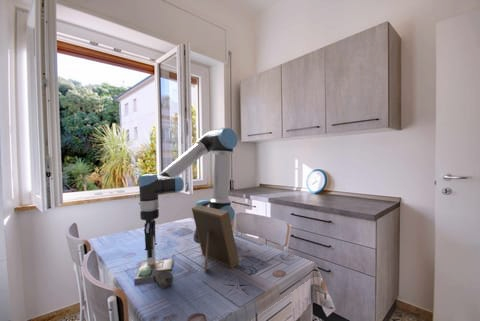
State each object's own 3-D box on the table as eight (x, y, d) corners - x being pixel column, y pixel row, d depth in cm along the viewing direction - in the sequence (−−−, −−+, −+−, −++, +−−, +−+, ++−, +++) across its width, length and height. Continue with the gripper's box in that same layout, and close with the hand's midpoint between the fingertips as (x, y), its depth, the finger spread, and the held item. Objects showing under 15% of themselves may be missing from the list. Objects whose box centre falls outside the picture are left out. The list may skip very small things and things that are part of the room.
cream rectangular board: (173, 260, 106) (173, 258, 106) (171, 270, 96) (171, 268, 96) (141, 263, 103) (141, 262, 103) (136, 274, 93) (136, 272, 93)
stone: (153, 281, 89) (144, 276, 83) (161, 268, 92) (153, 262, 86) (172, 293, 86) (164, 288, 80) (180, 279, 89) (173, 273, 83)
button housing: (156, 272, 94) (156, 268, 94) (153, 281, 87) (153, 276, 87) (138, 275, 93) (138, 270, 93) (134, 284, 86) (134, 279, 86)
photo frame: (209, 251, 115) (208, 203, 115) (239, 265, 99) (238, 209, 99) (183, 261, 104) (182, 208, 104) (212, 278, 89) (211, 215, 89)
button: (152, 272, 92) (151, 266, 92) (150, 277, 88) (150, 271, 88) (141, 273, 92) (141, 267, 92) (139, 279, 88) (139, 272, 88)
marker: (155, 262, 101) (154, 235, 101) (154, 265, 98) (153, 238, 98) (149, 263, 100) (147, 236, 100) (147, 266, 97) (146, 238, 97)
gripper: (144, 206, 106) (146, 255, 106) (135, 214, 90) (138, 272, 91) (160, 205, 107) (162, 253, 108) (155, 213, 92) (157, 269, 92)
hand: (151, 262), depth 99 cm, fingers closed on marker, 3 cm apart
